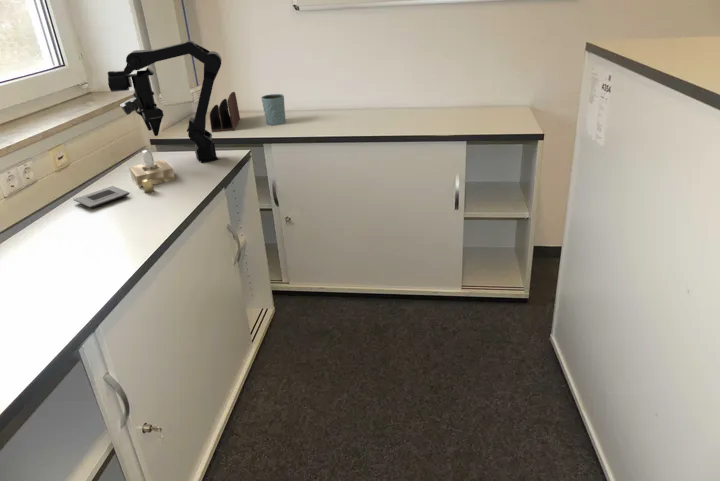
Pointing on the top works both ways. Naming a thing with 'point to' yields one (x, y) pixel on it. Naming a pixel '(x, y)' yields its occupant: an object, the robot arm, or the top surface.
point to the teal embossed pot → (274, 109)
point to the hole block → (152, 173)
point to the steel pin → (148, 160)
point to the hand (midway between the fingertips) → (153, 133)
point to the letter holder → (225, 115)
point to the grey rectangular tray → (101, 196)
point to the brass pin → (148, 185)
